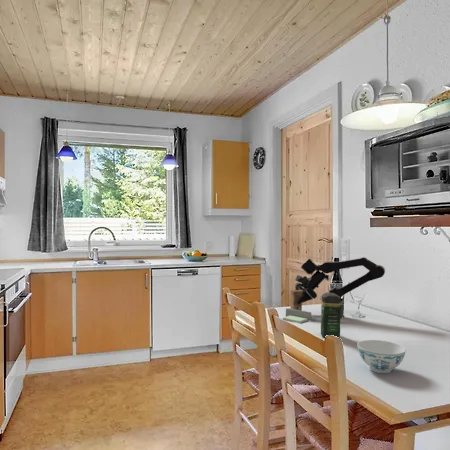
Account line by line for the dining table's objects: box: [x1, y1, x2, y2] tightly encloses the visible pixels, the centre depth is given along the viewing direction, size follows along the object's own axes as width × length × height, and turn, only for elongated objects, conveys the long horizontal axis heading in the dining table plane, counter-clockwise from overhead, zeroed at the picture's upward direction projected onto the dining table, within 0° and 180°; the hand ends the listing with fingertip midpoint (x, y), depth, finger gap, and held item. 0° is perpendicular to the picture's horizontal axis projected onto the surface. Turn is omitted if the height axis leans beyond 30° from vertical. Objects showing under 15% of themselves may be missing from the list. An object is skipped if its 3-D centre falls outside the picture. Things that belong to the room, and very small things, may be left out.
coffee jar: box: [320, 292, 342, 338], centre depth 172 cm, size 10×8×19 cm
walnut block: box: [289, 289, 303, 311], centre depth 211 cm, size 4×5×13 cm
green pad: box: [282, 315, 308, 324], centre depth 200 cm, size 10×7×1 cm
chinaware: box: [356, 339, 407, 374], centre depth 134 cm, size 15×15×8 cm
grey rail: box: [285, 307, 312, 322], centre depth 205 cm, size 14×1×4 cm, turn 50°
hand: (294, 301), depth 211 cm, fingers open, 9 cm apart
